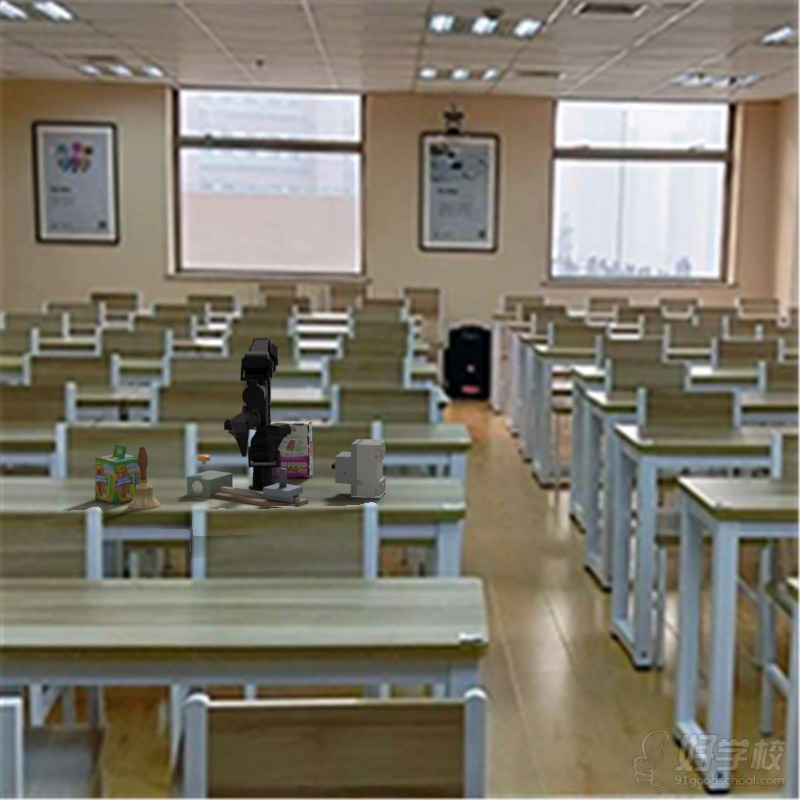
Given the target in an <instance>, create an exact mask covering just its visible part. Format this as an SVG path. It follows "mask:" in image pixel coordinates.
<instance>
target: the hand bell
mask: <svg viewBox="0 0 800 800" xmlns="http://www.w3.org/2000/svg"><path fill="white" fill-rule="evenodd" d="M137 457H138V464H139V467H140V477H141V478H140V479H141V483H140V484H139V485H137V486H136V487H135V495H134V498H133V500H131V501H129V503H128V507H129V508H130V509H134V510H150V509H155V508H158V507H160V506H161V502H160V500H158V499H157V498H156V496H155V492H154V486H153V485H152V484H150V483H149V482H148V477H147V467H148V464H149V462H148V461H149V458H148V457H149V456H148V453H147V450H146V447H145V446H139V449H138V454H137Z"/></svg>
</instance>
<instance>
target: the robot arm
mask: <svg viewBox="0 0 800 800" xmlns="http://www.w3.org/2000/svg"><path fill="white" fill-rule="evenodd" d="M240 364H241V365H240V377H239V380H240V382H246V383H245V387H244V389H243V390H242V393H241V398H242V401H243V403H244V404H242V407H241V412H240V413H238V414H236V415H235V416H234V417H230V418H225V420H224V423H223V430H224V431H227V434H230V435H231V436H232V437H233V438H234V440H235V441H236V443H237V446H238V449H239V451H240V454H241V456H242V458H246V456H247V462H248V466H247V467H248V468H252V485H249V486H248V488H249V489H252V490H259V491H260V490H262V491H263V488H264V487H267V486H270V485H273V484H276V477H275V467H276V468H278V467H281V452H280V451H279V449H278V448H279V446H280V444H281V442H282V441H283V439H284V437H287V435H289V434H291V426H290V425H289V424H287V423H279V422H278V423H274V422H273V423H274V424H273V423H272V380H273V379H274V377H275V376H276V374H277V370H278V366H280V351H279V347H278V346H277V345H275V344H274V343H273V342H272V338H269V337H255V338H252V344H250V345H249V347H248V351H246V352H245V353H244V355H243V357H241V363H240ZM250 430H251V431H255V432H254V434H253V436H251V439H250V438H249V436H250ZM249 439H250V440H249ZM249 441H250V445H249ZM274 461H276V462H274Z"/></svg>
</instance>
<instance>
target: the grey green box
mask: <svg viewBox="0 0 800 800" xmlns="http://www.w3.org/2000/svg"><path fill="white" fill-rule="evenodd" d="M221 486H226V487H233V473H231V472H227V471H226V472H224V471H219V470H218V471H217V470H213V469H212V470H207V471H203V472H199V473H195V474H192V475H191V474H190V475H188V476H186V492H187V493H186V495H189V496H194V497H195V496H196V497H202V498H208V499H210V498H211V494H212V493H216V492H219V487H221ZM233 488H234V487H233Z"/></svg>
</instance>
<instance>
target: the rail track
mask: <svg viewBox="0 0 800 800" xmlns="http://www.w3.org/2000/svg"><path fill="white" fill-rule="evenodd" d="M211 498H212V499H218V500H225V501H232V502H237V503H242V504H243V503H245V504H251V505H255V506H257V505H258V506H262V507H263V506H264V507H269V506H297V507H300V506H303V505H305V504H308V503H309V498H302V497H301V496H300V497H294V496H293V502H284V501H278V500H271V499H266V495H265V494H263V491H260V490H254V489H245V488H240V487H239V488H238V487H226V486H221V487H219V492H216V493H212V494H211ZM299 505H300V506H299Z"/></svg>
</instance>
